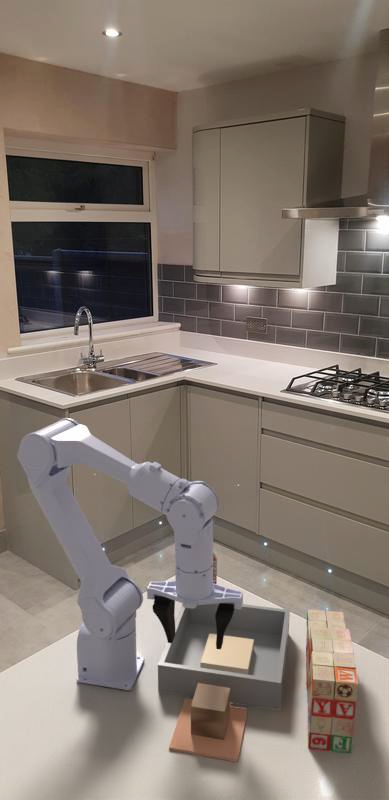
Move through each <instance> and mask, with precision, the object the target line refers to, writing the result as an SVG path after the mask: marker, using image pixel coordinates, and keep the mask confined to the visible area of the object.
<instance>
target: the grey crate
mask: <svg viewBox="0 0 389 800" xmlns="http://www.w3.org/2000/svg"><path fill="white" fill-rule="evenodd" d="M218 606H219V605H218V604H206V605H197V607H196V608H194V609H192V608H184V607H183V603H181V606H180V609H179V611H178V613H177V617H176V619H175V637H174V640H173V642H172V643H168V641H166V644H165V647H164V649H163V650H162V653H161V656H160V659H159V662H158V663H157V692H159V693H163V694H164V693H165V694H172V695H178V696H183V697H190V698H191V697H192V698H194V694H195V691H196V688H197V685H198V683H202V684H208V685H215V686H221V687H227V688H230V704H234V705H235V704H236V705H240V706H241V705H242V706H243V705H244V706H247V707H248V706H249V707H255V708H261V709H262V708H263V709H267V710H268V709H269V710H273V711H281V703H282V694H283V685H284V679H285V678H284V677H285V669H286V668H285V667H286V660H287V659H286V658H287V651H288V643H289V634H290V615H291V613H290V611H291V610H290V609H285V608H276V607H269V606H260V605H253V604H245V603H243V604H242V608H241V610H240V609H234V613H233V616H232V618H231V621H230V622H229V624H228V626H227V628H226V630H225V632H224V638H223V644H222V648H221V649H216V638H217V627H216V619H215V614H216V611H217V608H218Z"/></svg>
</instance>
